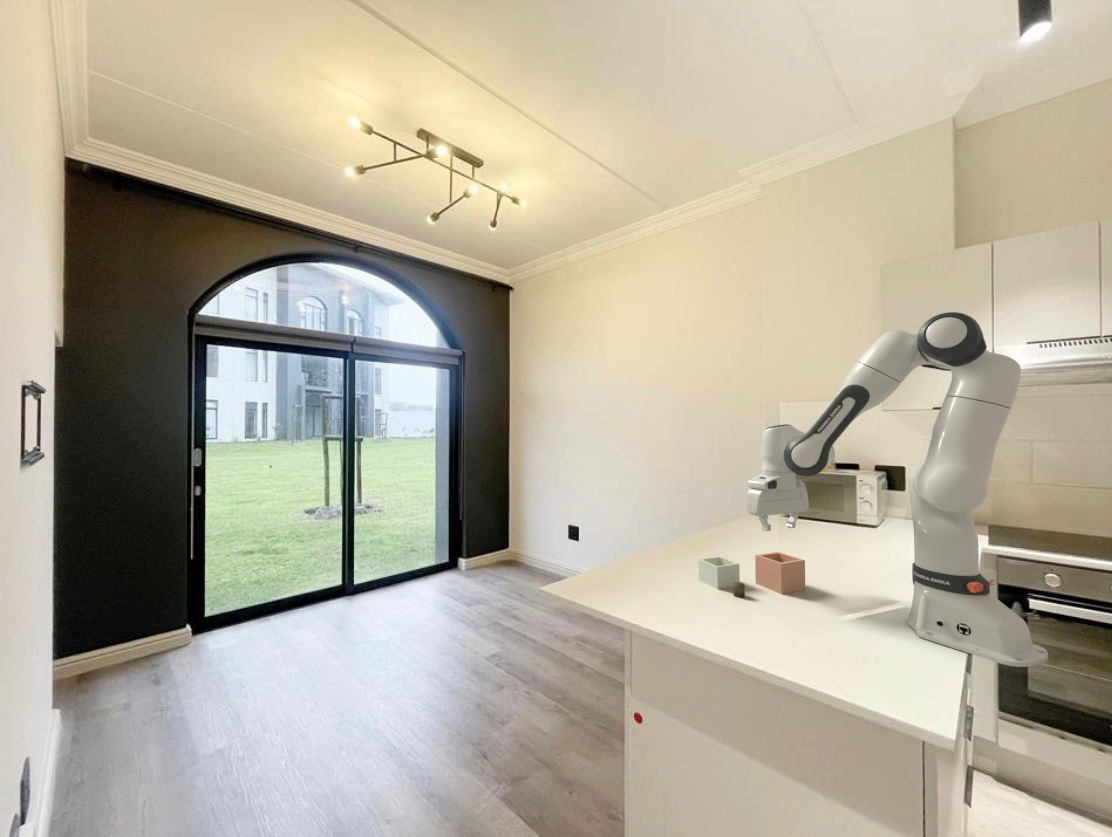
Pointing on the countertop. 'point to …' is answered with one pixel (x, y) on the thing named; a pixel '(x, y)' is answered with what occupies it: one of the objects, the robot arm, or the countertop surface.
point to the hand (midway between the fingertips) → (779, 529)
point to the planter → (780, 572)
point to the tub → (718, 572)
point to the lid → (739, 589)
